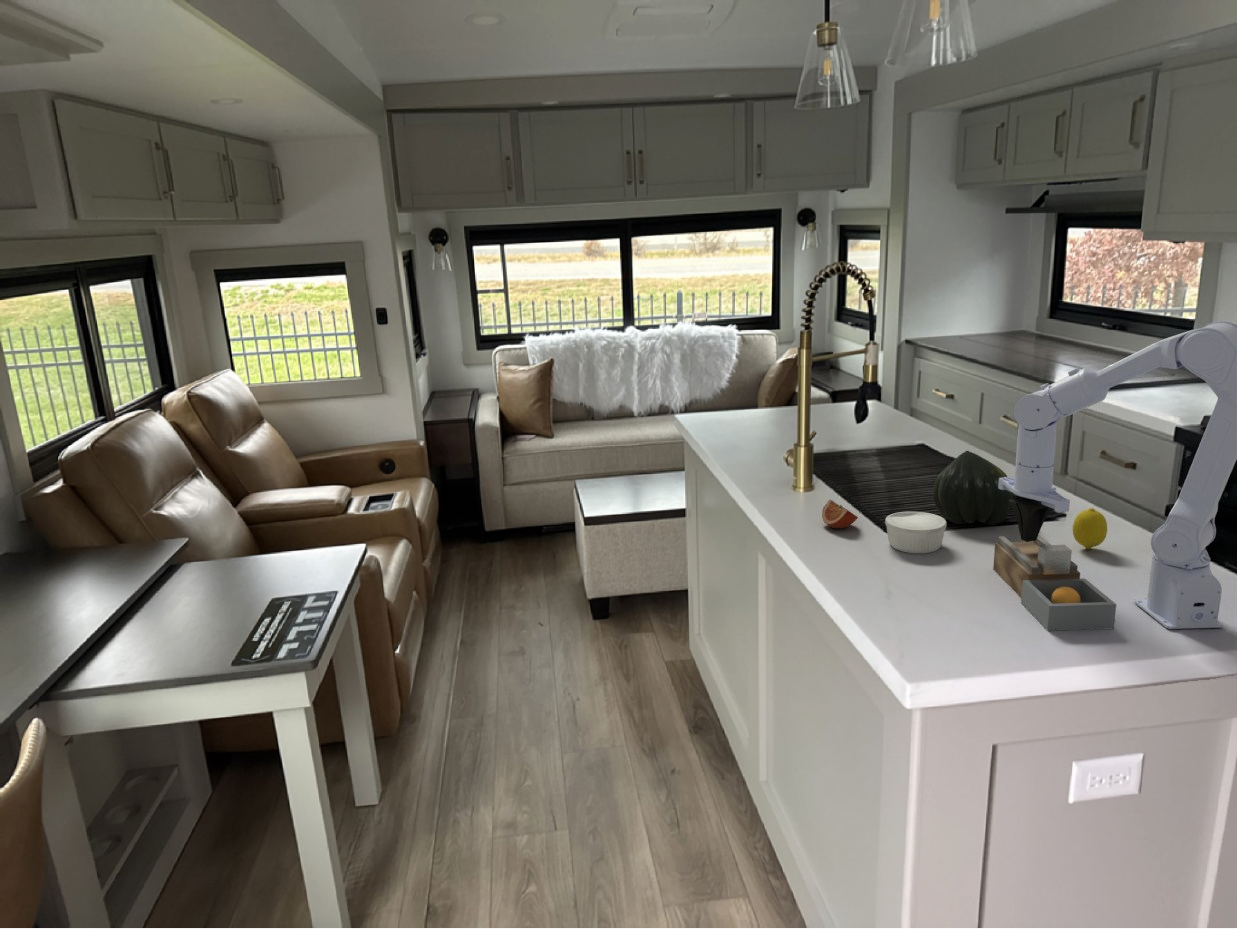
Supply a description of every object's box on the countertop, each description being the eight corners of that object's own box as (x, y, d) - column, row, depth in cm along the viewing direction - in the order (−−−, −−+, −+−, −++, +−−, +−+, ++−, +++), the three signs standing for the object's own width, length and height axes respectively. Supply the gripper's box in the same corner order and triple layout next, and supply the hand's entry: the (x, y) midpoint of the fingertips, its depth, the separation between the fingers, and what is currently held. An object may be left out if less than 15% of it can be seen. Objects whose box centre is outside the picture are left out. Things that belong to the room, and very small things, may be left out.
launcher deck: (1077, 601, 133) (1080, 565, 131) (1026, 603, 133) (1028, 567, 132) (1039, 567, 146) (1042, 535, 144) (993, 569, 147) (995, 536, 145)
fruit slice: (816, 522, 176) (816, 500, 174) (845, 518, 177) (845, 496, 176) (833, 535, 168) (833, 511, 166) (863, 531, 169) (864, 508, 168)
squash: (1007, 513, 158) (1013, 444, 164) (925, 508, 165) (933, 442, 171) (1011, 541, 169) (1016, 475, 175) (934, 535, 177) (941, 472, 182)
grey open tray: (1113, 628, 123) (1116, 604, 122) (1047, 630, 124) (1049, 606, 123) (1082, 601, 133) (1084, 578, 132) (1021, 603, 133) (1022, 580, 132)
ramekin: (918, 531, 167) (919, 507, 165) (958, 549, 157) (960, 523, 155) (872, 541, 163) (873, 516, 162) (910, 560, 153) (911, 533, 152)
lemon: (1109, 555, 150) (1114, 513, 148) (1076, 554, 151) (1080, 513, 149) (1099, 544, 155) (1103, 503, 153) (1066, 543, 156) (1070, 503, 154)
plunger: (1069, 573, 131) (1071, 550, 130) (1043, 574, 131) (1045, 551, 130) (1062, 567, 133) (1064, 544, 132) (1036, 568, 133) (1038, 545, 132)
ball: (1084, 616, 126) (1086, 592, 125) (1057, 617, 127) (1059, 593, 126) (1072, 605, 130) (1074, 582, 129) (1045, 606, 131) (1047, 582, 130)
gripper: (1088, 471, 131) (1081, 551, 135) (1025, 450, 145) (1019, 523, 148) (1050, 476, 130) (1043, 557, 133) (989, 455, 143) (985, 528, 147)
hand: (1028, 540), depth 141 cm, fingers closed
